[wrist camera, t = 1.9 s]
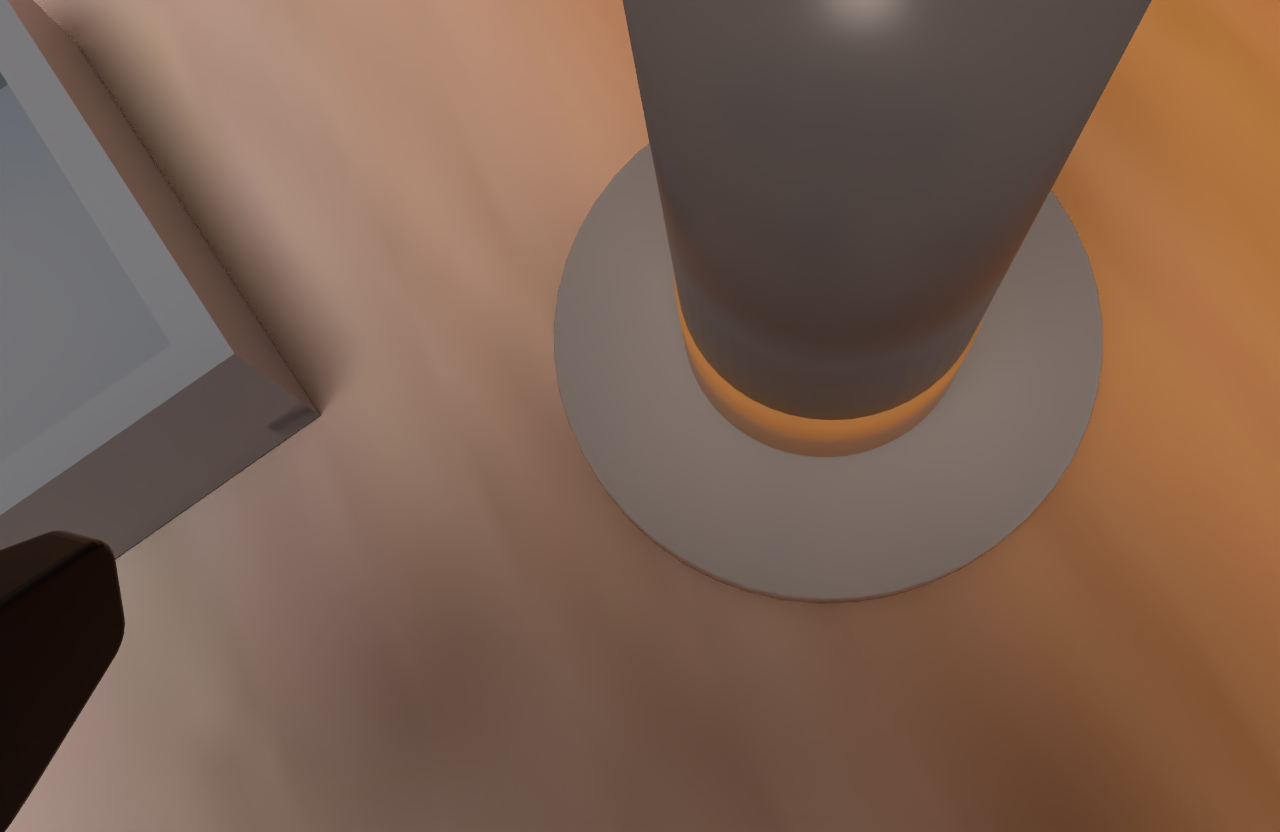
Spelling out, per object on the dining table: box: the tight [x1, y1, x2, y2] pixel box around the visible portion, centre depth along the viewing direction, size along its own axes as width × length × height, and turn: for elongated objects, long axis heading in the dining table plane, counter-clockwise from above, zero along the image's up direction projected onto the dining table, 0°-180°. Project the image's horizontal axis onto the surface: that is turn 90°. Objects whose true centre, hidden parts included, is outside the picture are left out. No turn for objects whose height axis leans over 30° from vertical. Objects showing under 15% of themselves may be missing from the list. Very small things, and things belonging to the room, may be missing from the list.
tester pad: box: [554, 143, 1102, 603], centre depth 23 cm, size 10×10×1 cm
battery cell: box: [623, 0, 1152, 457], centre depth 16 cm, size 5×5×13 cm
